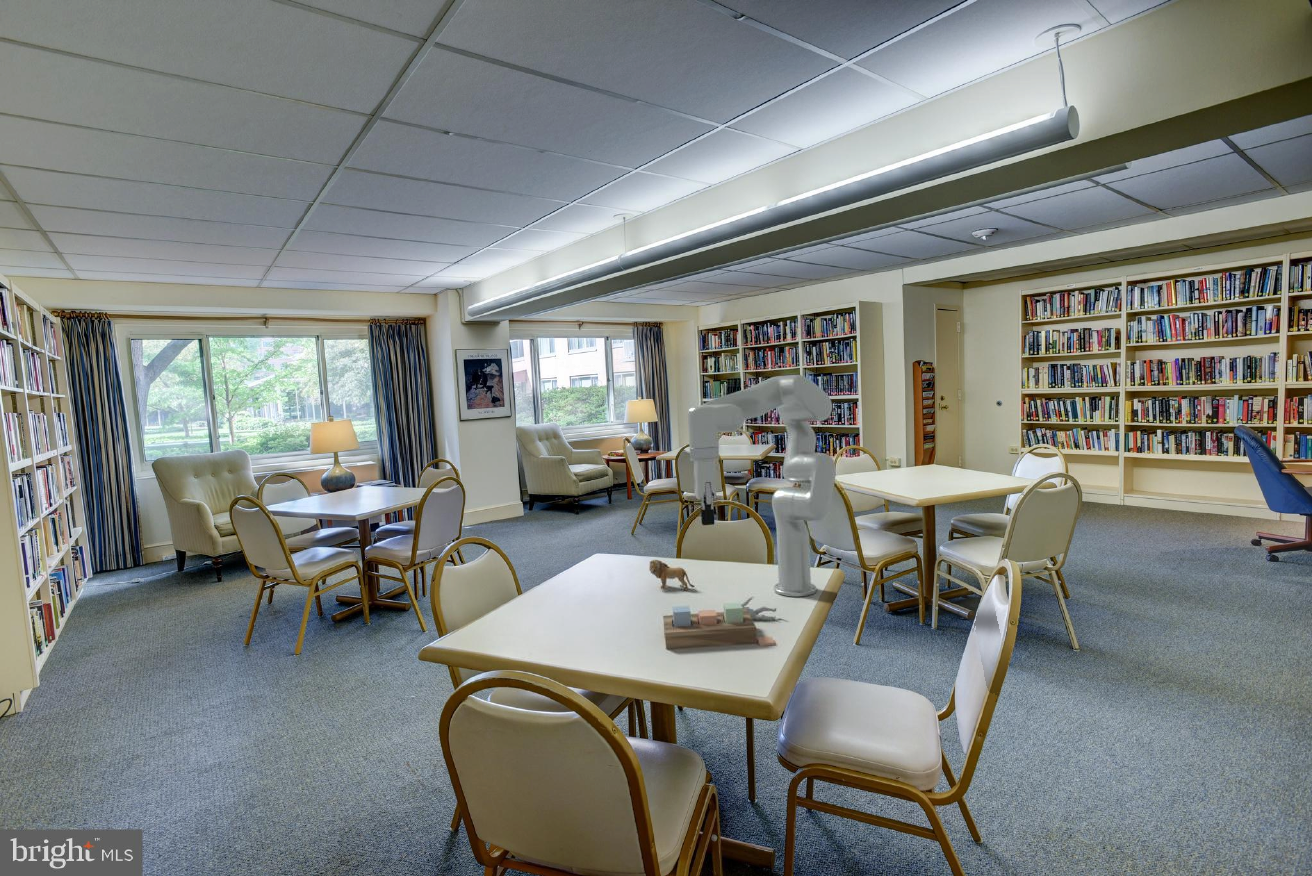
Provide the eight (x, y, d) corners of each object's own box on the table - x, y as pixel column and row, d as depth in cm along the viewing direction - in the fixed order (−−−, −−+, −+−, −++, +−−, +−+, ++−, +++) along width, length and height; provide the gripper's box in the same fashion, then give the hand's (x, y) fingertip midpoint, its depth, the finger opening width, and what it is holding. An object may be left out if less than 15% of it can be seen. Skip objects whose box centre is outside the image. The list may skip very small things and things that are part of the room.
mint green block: (724, 624, 159) (723, 603, 159) (740, 623, 159) (739, 602, 159) (726, 630, 155) (725, 609, 154) (743, 629, 155) (742, 608, 155)
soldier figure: (775, 628, 163) (730, 616, 163) (769, 635, 167) (726, 623, 167) (777, 601, 168) (734, 589, 168) (771, 609, 172) (729, 597, 172)
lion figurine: (648, 589, 199) (646, 561, 199) (652, 584, 204) (651, 557, 204) (692, 591, 195) (691, 562, 194) (696, 586, 200) (695, 558, 200)
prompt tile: (756, 640, 153) (756, 637, 153) (771, 639, 153) (771, 636, 153) (759, 645, 149) (759, 643, 149) (774, 644, 150) (774, 642, 150)
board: (664, 630, 163) (663, 615, 162) (747, 625, 163) (747, 610, 163) (666, 648, 151) (665, 632, 150) (756, 643, 151) (755, 626, 151)
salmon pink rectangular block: (699, 632, 159) (698, 610, 159) (715, 630, 159) (714, 609, 159) (701, 638, 155) (699, 616, 154) (717, 637, 155) (716, 615, 155)
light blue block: (673, 628, 159) (672, 606, 158) (690, 627, 159) (689, 605, 158) (674, 634, 154) (673, 612, 154) (691, 633, 155) (690, 611, 154)
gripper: (687, 452, 169) (691, 519, 170) (692, 457, 154) (696, 531, 155) (715, 451, 169) (718, 518, 170) (722, 455, 154) (726, 529, 155)
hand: (708, 524), depth 162 cm, fingers closed
